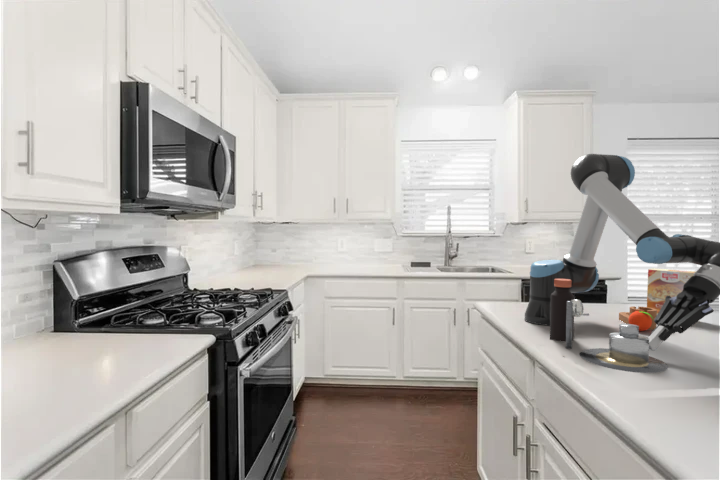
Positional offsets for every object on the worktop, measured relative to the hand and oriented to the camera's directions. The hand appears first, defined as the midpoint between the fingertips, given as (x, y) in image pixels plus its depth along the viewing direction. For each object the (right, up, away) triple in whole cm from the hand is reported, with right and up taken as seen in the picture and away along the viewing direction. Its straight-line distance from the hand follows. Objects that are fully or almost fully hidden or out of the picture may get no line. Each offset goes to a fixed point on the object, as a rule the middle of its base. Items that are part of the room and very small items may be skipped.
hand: (649, 346), depth 113 cm
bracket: (+27, -3, +46) cm, 53 cm away
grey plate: (-8, -4, -1) cm, 9 cm away
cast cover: (-6, -3, 0) cm, 7 cm away
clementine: (+21, -4, +35) cm, 41 cm away
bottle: (-14, -4, +20) cm, 25 cm away
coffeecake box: (+46, -3, +55) cm, 72 cm away
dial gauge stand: (-15, -4, +10) cm, 18 cm away
